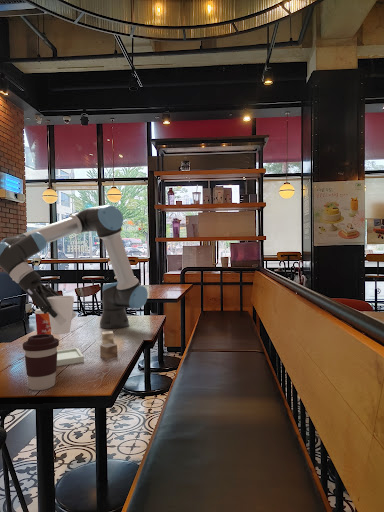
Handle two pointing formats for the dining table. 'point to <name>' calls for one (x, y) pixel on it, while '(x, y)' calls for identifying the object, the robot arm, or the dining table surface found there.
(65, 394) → the dining table surface
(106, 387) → the dining table surface
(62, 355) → the tray
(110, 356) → the walnut block
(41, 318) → the paper cup
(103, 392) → the dining table surface
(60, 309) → the foam cup
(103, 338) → the beech block
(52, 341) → the coffee cup
